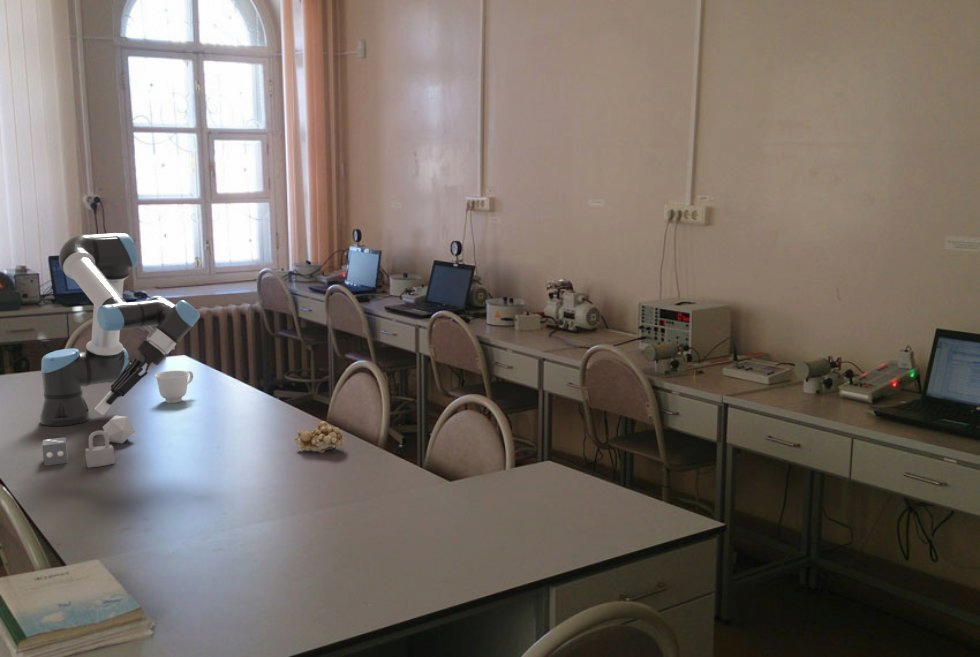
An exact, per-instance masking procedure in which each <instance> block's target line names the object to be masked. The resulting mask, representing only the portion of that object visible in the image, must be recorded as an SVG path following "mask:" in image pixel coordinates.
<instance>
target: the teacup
mask: <svg viewBox="0 0 980 657" xmlns="http://www.w3.org/2000/svg"><path fill="white" fill-rule="evenodd" d="M154 378H155V379H156V382H157V385H158V386H157V387H158V391H159V395H160V397H161V398H163V399H165V403H167V404H176V403H180V402H182V401H183V397H184V396H186V394H187V391H188V385H189V384H190V383H191V382H192V381H193V379H194V373H193V372H192V371H191V370H168V371H162V372H158V373H155V375H154Z"/></svg>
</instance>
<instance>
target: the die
mask: <svg viewBox="0 0 980 657" xmlns="http://www.w3.org/2000/svg"><path fill="white" fill-rule="evenodd" d="M102 429H103V431H105V432H106V433H107V434H108V436H109V443H116V444H124V443H125V442H126V441H127V440H128V439H129V438H130V437H131V436H132V435H133V434H134V433H136V432H135V429H134V427H133V425H132V423H131V421H130V419H129V417H128V416H123V415H114V416H113V417H111V418H110V419H109V421H107V422H106V424H104V425H103V426H102Z"/></svg>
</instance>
